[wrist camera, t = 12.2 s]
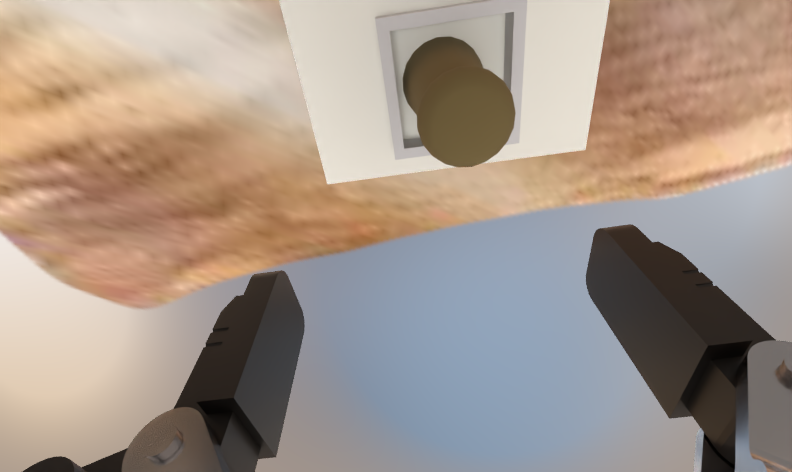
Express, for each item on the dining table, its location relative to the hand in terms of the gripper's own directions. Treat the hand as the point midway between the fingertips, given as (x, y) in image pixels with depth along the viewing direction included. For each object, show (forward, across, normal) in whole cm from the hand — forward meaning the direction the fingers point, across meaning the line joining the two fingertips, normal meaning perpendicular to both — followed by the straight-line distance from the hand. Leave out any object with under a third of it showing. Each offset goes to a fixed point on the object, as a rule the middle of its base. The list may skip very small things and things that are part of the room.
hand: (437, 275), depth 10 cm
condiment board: (+23, -4, 0) cm, 23 cm away
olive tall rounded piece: (+22, -3, 0) cm, 22 cm away
